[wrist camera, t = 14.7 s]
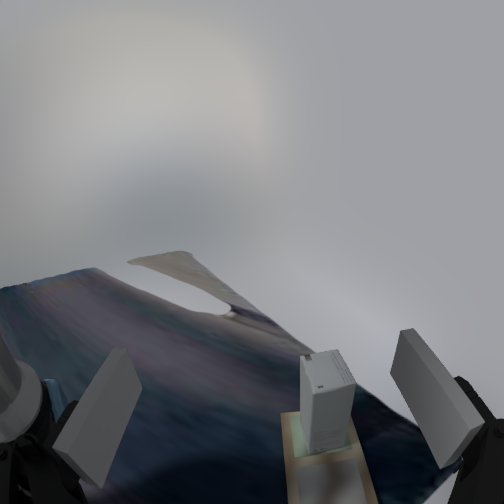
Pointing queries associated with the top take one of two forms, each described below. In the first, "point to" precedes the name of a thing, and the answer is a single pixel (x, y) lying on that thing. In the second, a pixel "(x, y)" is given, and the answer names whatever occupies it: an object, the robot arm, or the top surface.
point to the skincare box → (325, 400)
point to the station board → (324, 469)
